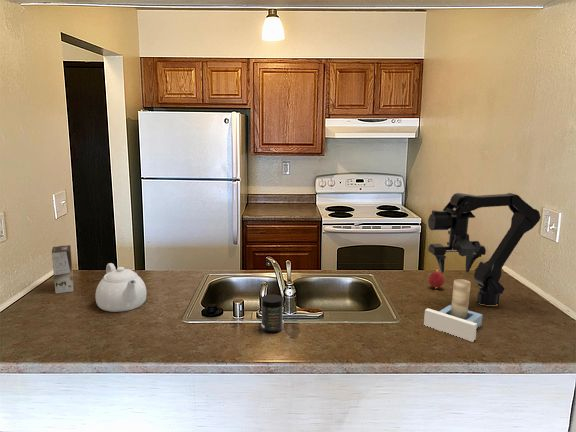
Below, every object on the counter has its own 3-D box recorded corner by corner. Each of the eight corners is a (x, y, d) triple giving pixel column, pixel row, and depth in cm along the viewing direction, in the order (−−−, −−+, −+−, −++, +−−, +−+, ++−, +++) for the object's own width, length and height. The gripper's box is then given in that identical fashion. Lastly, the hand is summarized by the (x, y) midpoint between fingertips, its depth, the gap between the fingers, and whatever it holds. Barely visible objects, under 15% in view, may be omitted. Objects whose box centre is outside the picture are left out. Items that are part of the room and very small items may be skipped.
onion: (440, 292, 180) (442, 273, 179) (426, 289, 184) (427, 270, 182) (445, 288, 185) (447, 269, 183) (431, 285, 188) (432, 266, 186)
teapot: (156, 295, 173) (155, 260, 170) (136, 315, 155) (134, 276, 152) (109, 292, 175) (106, 258, 172) (83, 312, 157) (80, 274, 154)
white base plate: (450, 310, 163) (451, 294, 162) (496, 324, 153) (498, 307, 151) (423, 327, 150) (424, 309, 148) (472, 344, 139) (474, 325, 137)
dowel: (454, 318, 153) (458, 278, 150) (469, 323, 149) (473, 282, 146) (447, 322, 149) (451, 281, 146) (462, 327, 146) (466, 285, 143)
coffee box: (74, 291, 175) (70, 250, 172) (55, 294, 172) (51, 252, 169) (73, 283, 183) (70, 244, 180) (55, 285, 181) (52, 246, 177)
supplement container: (286, 330, 145) (287, 299, 143) (267, 335, 142) (268, 304, 140) (275, 322, 151) (276, 292, 149) (257, 327, 148) (257, 296, 145)
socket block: (448, 315, 157) (449, 304, 156) (481, 326, 150) (482, 314, 149) (433, 325, 149) (434, 314, 148) (467, 337, 142) (468, 324, 141)
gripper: (443, 235, 152) (439, 280, 155) (496, 235, 154) (491, 279, 157) (429, 228, 163) (425, 270, 166) (479, 227, 165) (475, 269, 168)
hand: (454, 272), depth 164 cm, fingers open, 9 cm apart
